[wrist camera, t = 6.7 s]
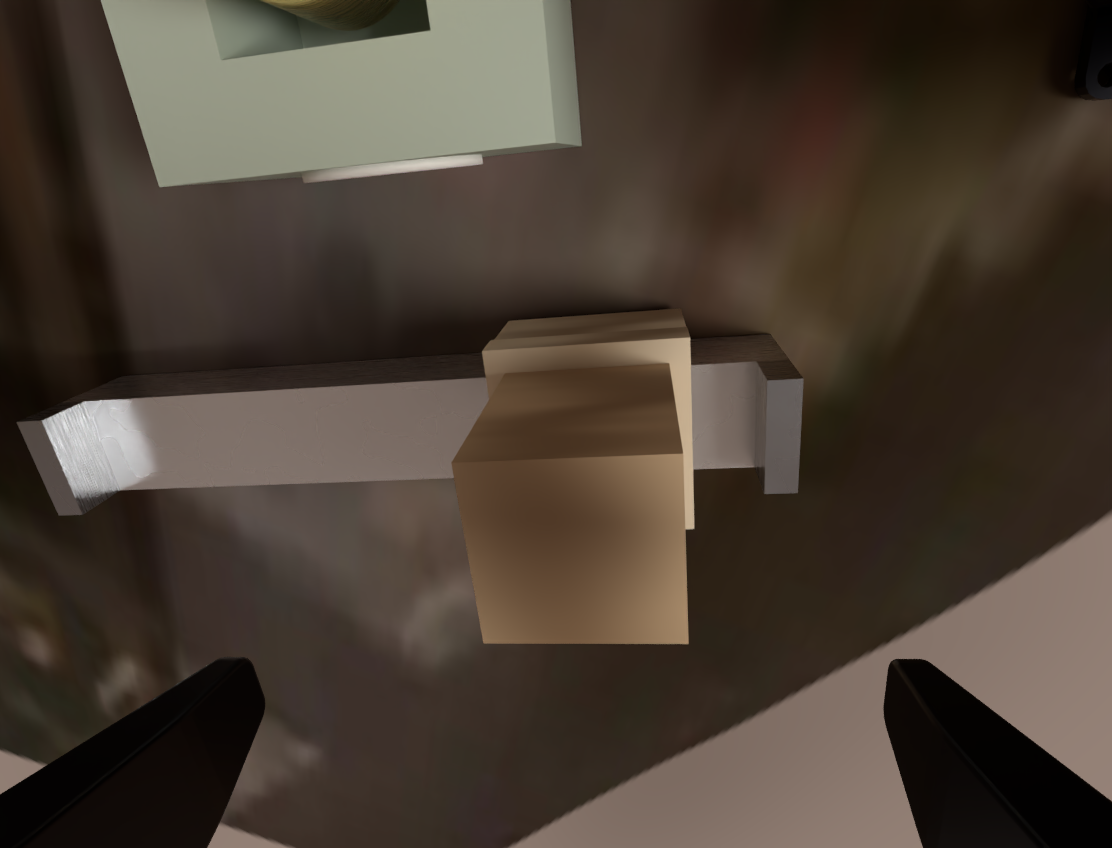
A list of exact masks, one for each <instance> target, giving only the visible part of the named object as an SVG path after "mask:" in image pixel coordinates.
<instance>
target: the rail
mask: <svg viewBox="0 0 1112 848" xmlns="http://www.w3.org/2000/svg"><path fill="white" fill-rule="evenodd" d="M690 350H691V397H692V445H693V469H715V468H742V467H755V470H756V473H757V475H758V478H759V481H760V483H761V486H762V489H763V491H764V494H778V493H798V478H799V457H800V437H801V416H802V396H803V377H802V376H801V375H800V373H799V372H798V371H797V369H796V368H795V367H794V365H793V364H792V363H791V361H790V360H789V359H788V357H787V356H786V354H785V353H784V352H783V350H782V349H781V348H780V346H779V345H778V344H777V342H776V341H775V340H774V338H773V337H772V336H771V334H762V335H746V336H731V337H716V338H700V339H690ZM488 401H489V395H488V389H487V382H486V375H485V368H484V362H483V355H482V353H471V354H456V355H441V356H425V357H410V358H395V359H379V360H364V361H349V362H333V363H318V364H303V365H288V366H272V367H257V368H242V369H226V370H211V371H196V372H181V373H165V374H150V375H135V376H122V377H119V378H117V379H115V380H113V381H110V382H108V383H106V384H103V385H101V386H99V387H96V388H94V389H92V390H89V391H87V392H85V393H82V394H80V395H78V396H76V397H73V398H71V399H69V400H66V401H64V402H62V403H59V404H57V405H55V406H52V407H50V408H48V409H46V410H43V411H41V412H39V413H36V414H34V415H32V416H29V417H27V418H25V419H22V420H20V421H18V422H17V424H18V427H19V429H20V431H21V433H22V435H23V438H24V440H25V442H26V444H27V446H28V449H29V451H30V453H31V455H32V457H33V460H34V462H35V464H36V466H37V468H38V471H39V473H40V475H41V477H42V479H43V482H44V484H45V486H46V488H47V491H48V493H49V495H50V497H51V499H52V502H53V504H54V506H55V508H56V510H57V513H58V515H83V514H84V513H86V512H87V511H89V510H90V509H92V508H93V507H95V506H97V505H98V504H100V503H101V502H103V501H104V500H106V499H107V498H109V497H110V496H112V495H113V494H115V493H117V492H118V491H120V490H137V489H165V488H192V487H220V486H247V485H275V484H302V483H330V482H357V481H385V480H412V479H440V478H454V475H453V470H452V464H451V462H452V461H453V459H454V457H455V456H456V454H457V452H458V451H459V449H460V447H461V446H462V444H463V442H464V441H465V439H466V437H467V436H468V434H469V432H470V431H471V429H472V427H473V426H474V424H475V422H476V421H477V419H478V417H479V416H480V414H481V412H482V411H483V409H484V407H485V406H486V404H487V402H488Z"/></svg>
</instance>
